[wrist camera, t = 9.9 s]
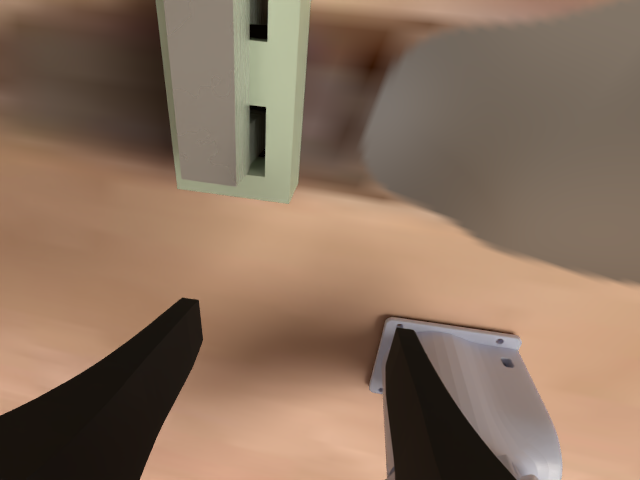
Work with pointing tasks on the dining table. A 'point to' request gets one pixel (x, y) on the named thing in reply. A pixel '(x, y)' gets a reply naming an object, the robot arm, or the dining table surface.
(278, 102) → the slotted block
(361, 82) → the dining table surface
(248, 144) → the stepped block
